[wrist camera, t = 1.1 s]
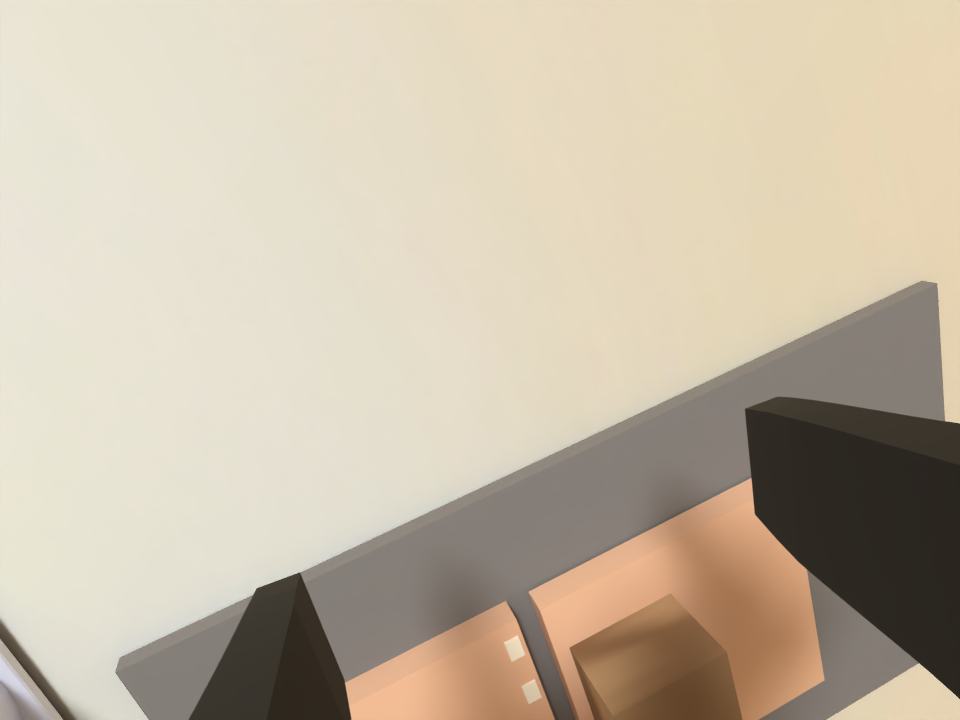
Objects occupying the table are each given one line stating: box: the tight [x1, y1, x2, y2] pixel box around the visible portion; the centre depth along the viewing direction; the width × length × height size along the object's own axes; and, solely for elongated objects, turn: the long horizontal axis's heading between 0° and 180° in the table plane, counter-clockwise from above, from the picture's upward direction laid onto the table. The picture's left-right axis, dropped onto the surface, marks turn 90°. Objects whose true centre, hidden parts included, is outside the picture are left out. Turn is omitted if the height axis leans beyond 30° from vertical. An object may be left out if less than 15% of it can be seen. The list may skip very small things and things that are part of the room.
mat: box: [115, 281, 945, 720], centre depth 25 cm, size 30×18×1 cm, turn 108°
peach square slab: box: [529, 478, 825, 720], centre depth 23 cm, size 10×10×4 cm
